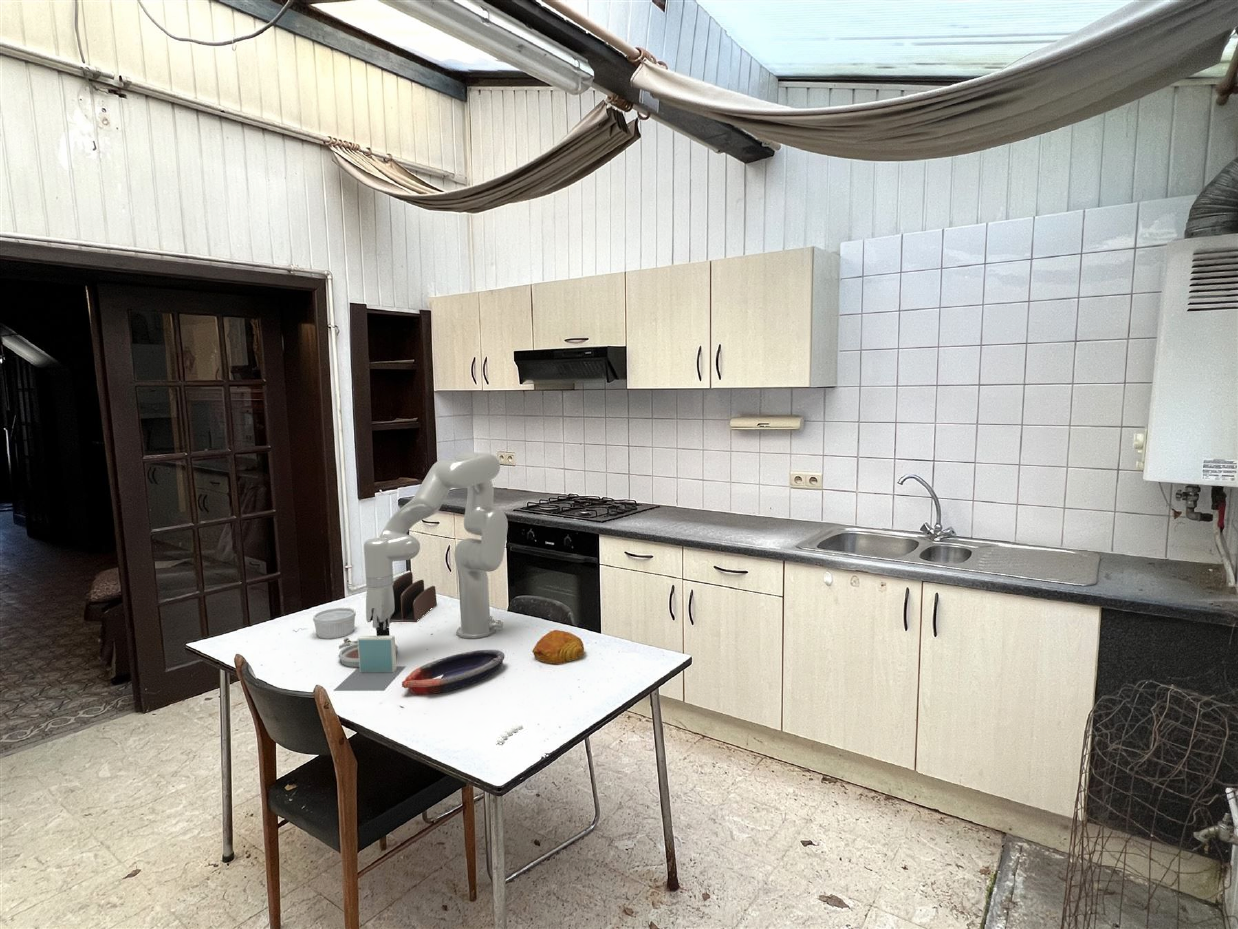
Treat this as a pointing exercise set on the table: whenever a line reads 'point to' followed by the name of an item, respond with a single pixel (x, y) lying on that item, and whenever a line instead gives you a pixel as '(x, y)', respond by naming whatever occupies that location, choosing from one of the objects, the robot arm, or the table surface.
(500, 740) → the white bumpy strip
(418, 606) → the letter holder
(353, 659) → the oval picture frame
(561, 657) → the croissant
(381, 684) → the mat
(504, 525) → the robot arm
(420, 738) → the table surface
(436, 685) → the dish
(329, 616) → the ramekin
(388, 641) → the tile
